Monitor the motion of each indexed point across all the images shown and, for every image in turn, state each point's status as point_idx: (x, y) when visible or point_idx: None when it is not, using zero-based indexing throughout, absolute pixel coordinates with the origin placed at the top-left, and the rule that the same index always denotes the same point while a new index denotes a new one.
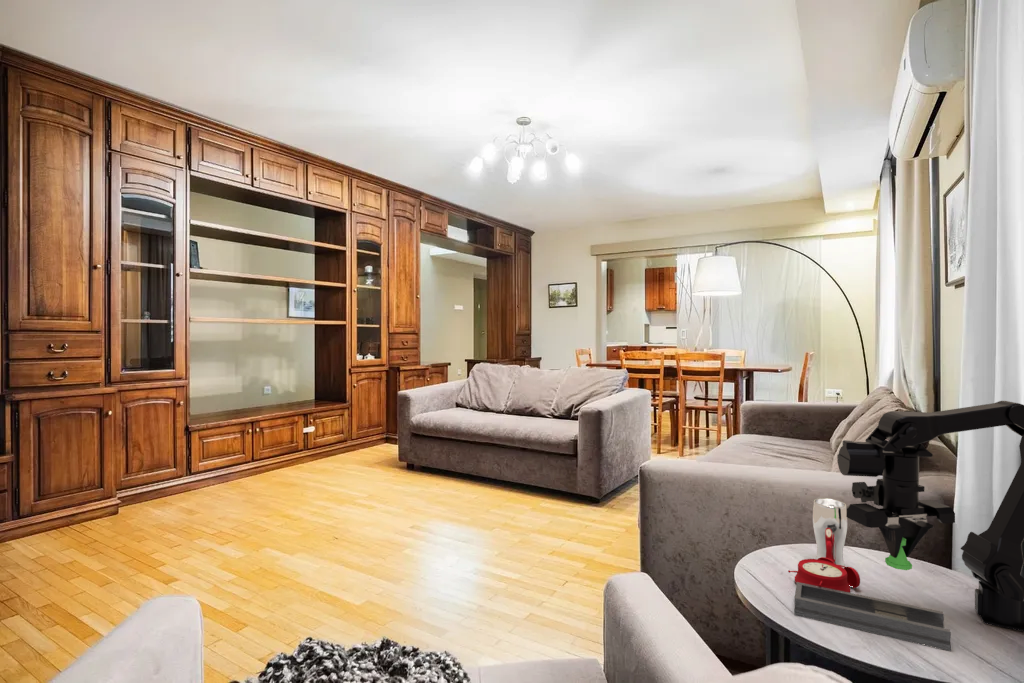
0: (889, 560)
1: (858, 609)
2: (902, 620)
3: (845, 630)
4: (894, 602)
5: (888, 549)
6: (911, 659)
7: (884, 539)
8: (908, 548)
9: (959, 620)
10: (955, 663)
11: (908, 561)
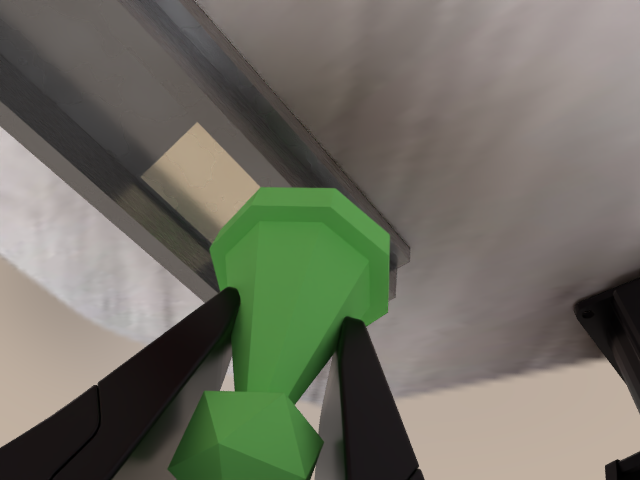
0: (225, 258)
1: (144, 68)
2: (174, 267)
3: None
4: (271, 175)
5: (189, 315)
6: (132, 295)
7: (107, 375)
8: (321, 433)
9: (522, 256)
10: None
11: (378, 309)
